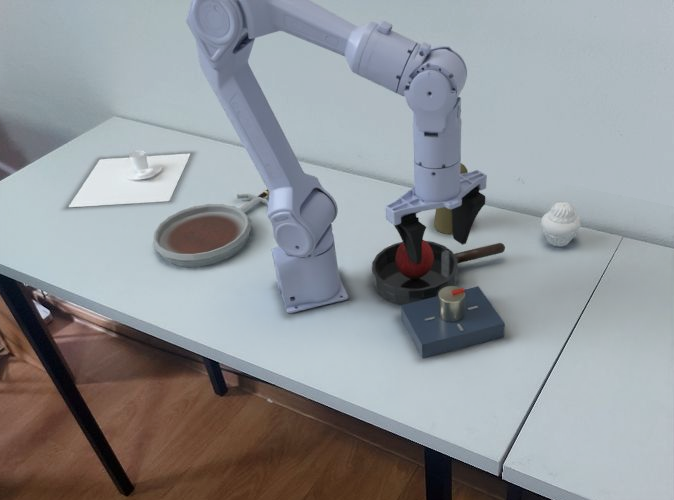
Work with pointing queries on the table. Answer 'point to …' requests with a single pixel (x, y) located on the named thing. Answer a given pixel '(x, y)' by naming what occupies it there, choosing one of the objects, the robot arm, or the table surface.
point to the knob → (451, 303)
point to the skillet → (412, 290)
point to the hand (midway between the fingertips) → (437, 250)
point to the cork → (446, 214)
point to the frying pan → (205, 233)
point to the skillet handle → (479, 252)
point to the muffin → (560, 224)
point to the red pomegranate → (409, 267)
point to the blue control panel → (451, 324)
